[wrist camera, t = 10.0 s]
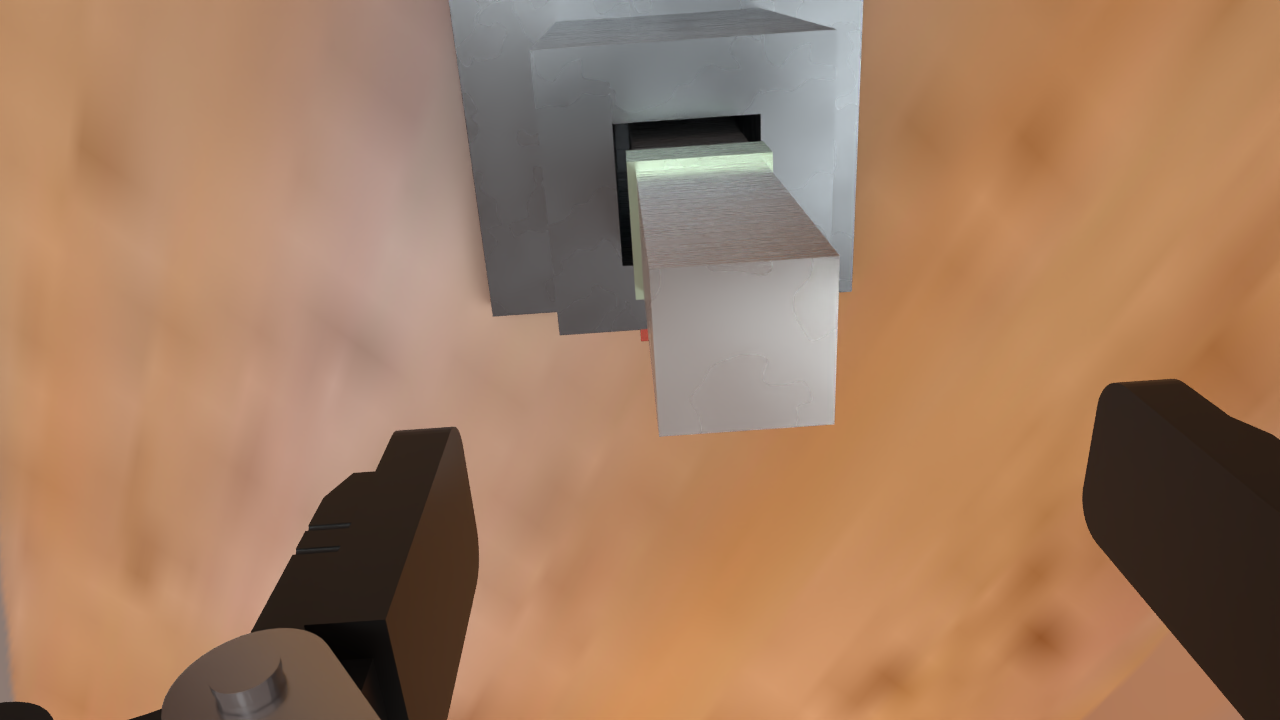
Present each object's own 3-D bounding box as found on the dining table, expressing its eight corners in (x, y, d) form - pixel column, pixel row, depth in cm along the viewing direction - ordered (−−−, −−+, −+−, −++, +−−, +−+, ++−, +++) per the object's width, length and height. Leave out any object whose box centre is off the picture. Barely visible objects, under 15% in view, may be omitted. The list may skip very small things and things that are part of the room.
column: (719, 91, 30) (852, 243, 14) (721, 189, 31) (845, 433, 15) (620, 98, 30) (635, 257, 14) (627, 196, 31) (648, 447, 15)
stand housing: (857, -112, 34) (1007, -159, 21) (843, 280, 40) (951, 425, 28) (443, -85, 34) (343, -115, 21) (496, 304, 40) (445, 461, 28)
